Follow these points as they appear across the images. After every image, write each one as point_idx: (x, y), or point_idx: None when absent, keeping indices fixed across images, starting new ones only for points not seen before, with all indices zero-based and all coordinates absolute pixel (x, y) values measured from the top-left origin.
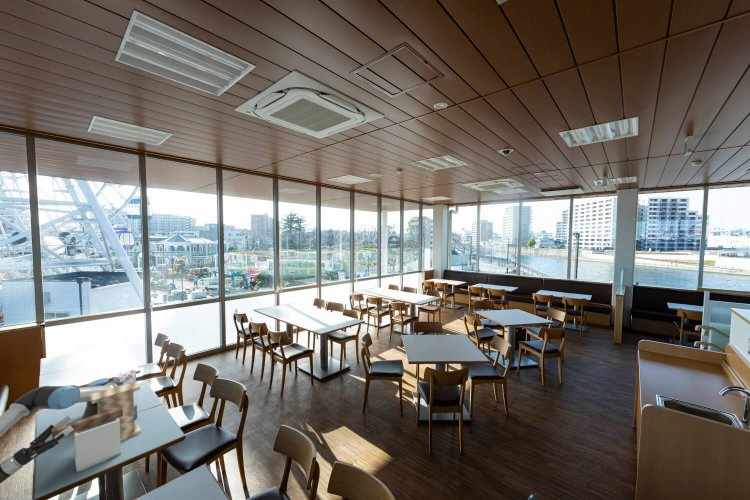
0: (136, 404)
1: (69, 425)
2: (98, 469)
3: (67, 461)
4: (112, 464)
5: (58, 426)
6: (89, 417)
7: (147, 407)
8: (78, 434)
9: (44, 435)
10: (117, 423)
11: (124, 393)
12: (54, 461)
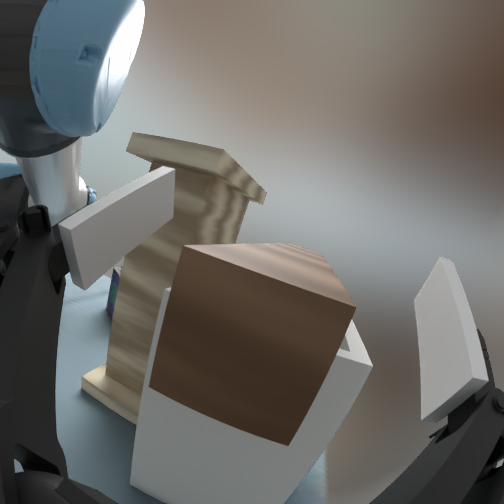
0: (121, 268)
1: (308, 264)
2: (314, 495)
3: (90, 483)
4: (322, 466)
5: (100, 255)
6: (285, 247)
7: (106, 287)
8: (367, 357)
9: (24, 355)
10: None
11: (253, 193)
12: (17, 471)
